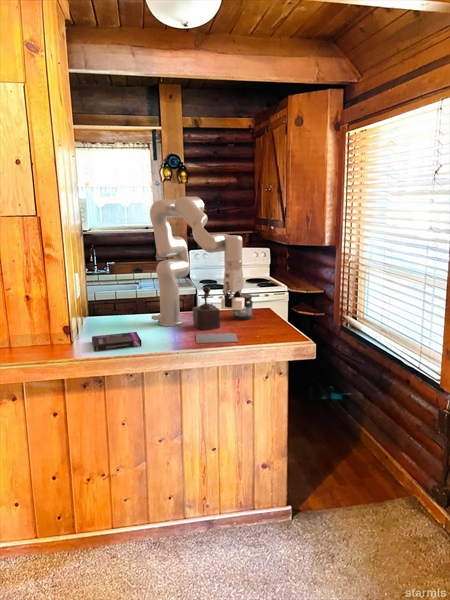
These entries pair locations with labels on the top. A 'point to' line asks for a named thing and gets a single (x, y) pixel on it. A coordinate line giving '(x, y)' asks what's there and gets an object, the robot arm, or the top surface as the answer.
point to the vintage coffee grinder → (206, 314)
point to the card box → (234, 303)
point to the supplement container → (247, 310)
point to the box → (116, 341)
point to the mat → (216, 338)
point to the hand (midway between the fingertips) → (232, 304)
